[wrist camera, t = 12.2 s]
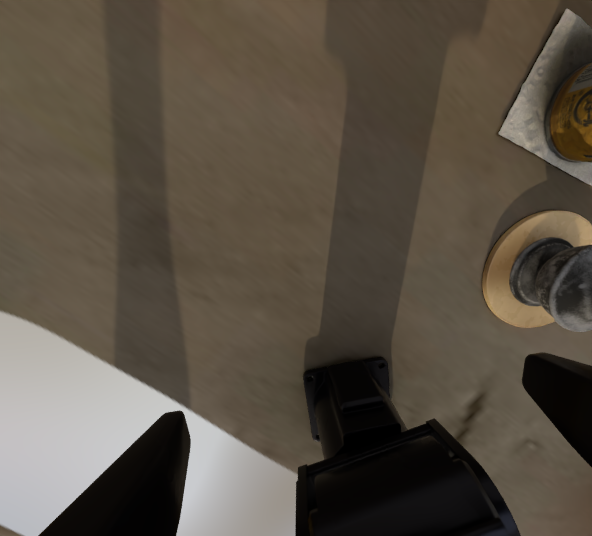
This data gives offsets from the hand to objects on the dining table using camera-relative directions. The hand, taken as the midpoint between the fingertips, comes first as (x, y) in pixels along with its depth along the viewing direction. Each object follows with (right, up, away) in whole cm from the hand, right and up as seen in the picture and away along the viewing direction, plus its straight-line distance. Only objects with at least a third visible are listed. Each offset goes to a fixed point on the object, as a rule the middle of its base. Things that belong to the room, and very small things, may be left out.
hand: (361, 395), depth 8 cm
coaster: (+17, +3, +15) cm, 22 cm away
